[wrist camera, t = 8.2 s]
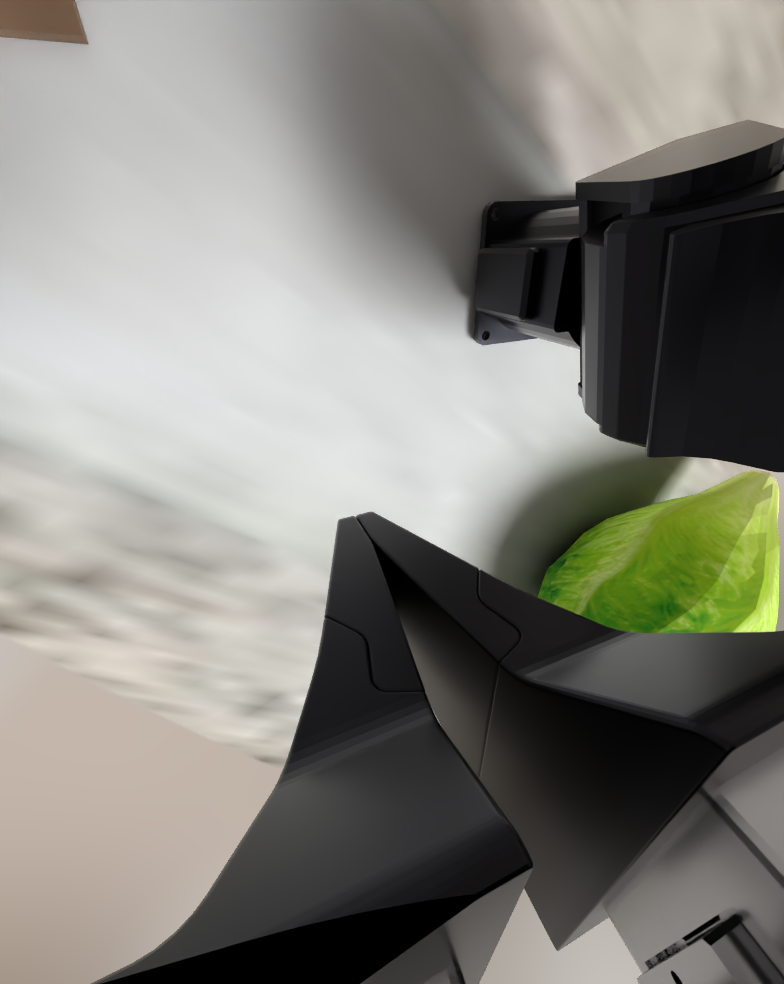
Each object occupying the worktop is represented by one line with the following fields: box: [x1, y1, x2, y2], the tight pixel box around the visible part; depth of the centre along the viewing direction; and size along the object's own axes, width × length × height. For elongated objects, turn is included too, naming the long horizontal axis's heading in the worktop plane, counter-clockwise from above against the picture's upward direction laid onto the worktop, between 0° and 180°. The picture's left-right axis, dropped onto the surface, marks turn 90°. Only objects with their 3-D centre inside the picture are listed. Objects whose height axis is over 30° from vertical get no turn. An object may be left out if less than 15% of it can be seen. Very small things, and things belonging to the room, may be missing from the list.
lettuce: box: [537, 470, 780, 633], centre depth 32 cm, size 15×22×15 cm
